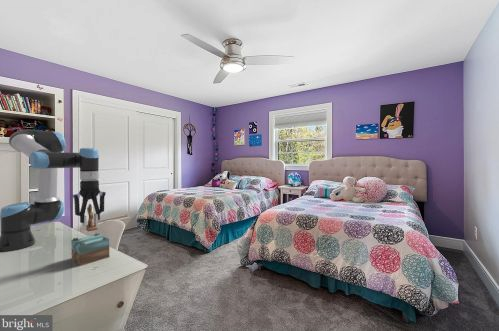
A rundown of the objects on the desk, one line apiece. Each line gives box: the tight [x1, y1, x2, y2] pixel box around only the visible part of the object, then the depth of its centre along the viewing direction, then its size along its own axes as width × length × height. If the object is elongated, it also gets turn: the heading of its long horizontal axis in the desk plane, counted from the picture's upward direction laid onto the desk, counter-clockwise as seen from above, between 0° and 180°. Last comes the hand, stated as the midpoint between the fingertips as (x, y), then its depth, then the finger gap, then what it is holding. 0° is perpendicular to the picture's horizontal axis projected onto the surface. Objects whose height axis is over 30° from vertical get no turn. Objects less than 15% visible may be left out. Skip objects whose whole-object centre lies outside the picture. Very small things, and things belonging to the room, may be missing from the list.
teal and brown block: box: [71, 232, 110, 266], centre depth 115 cm, size 12×12×10 cm
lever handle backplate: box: [86, 203, 99, 232], centre depth 114 cm, size 9×4×12 cm, turn 47°
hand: (90, 228), depth 114 cm, fingers closed on lever handle backplate, 4 cm apart
